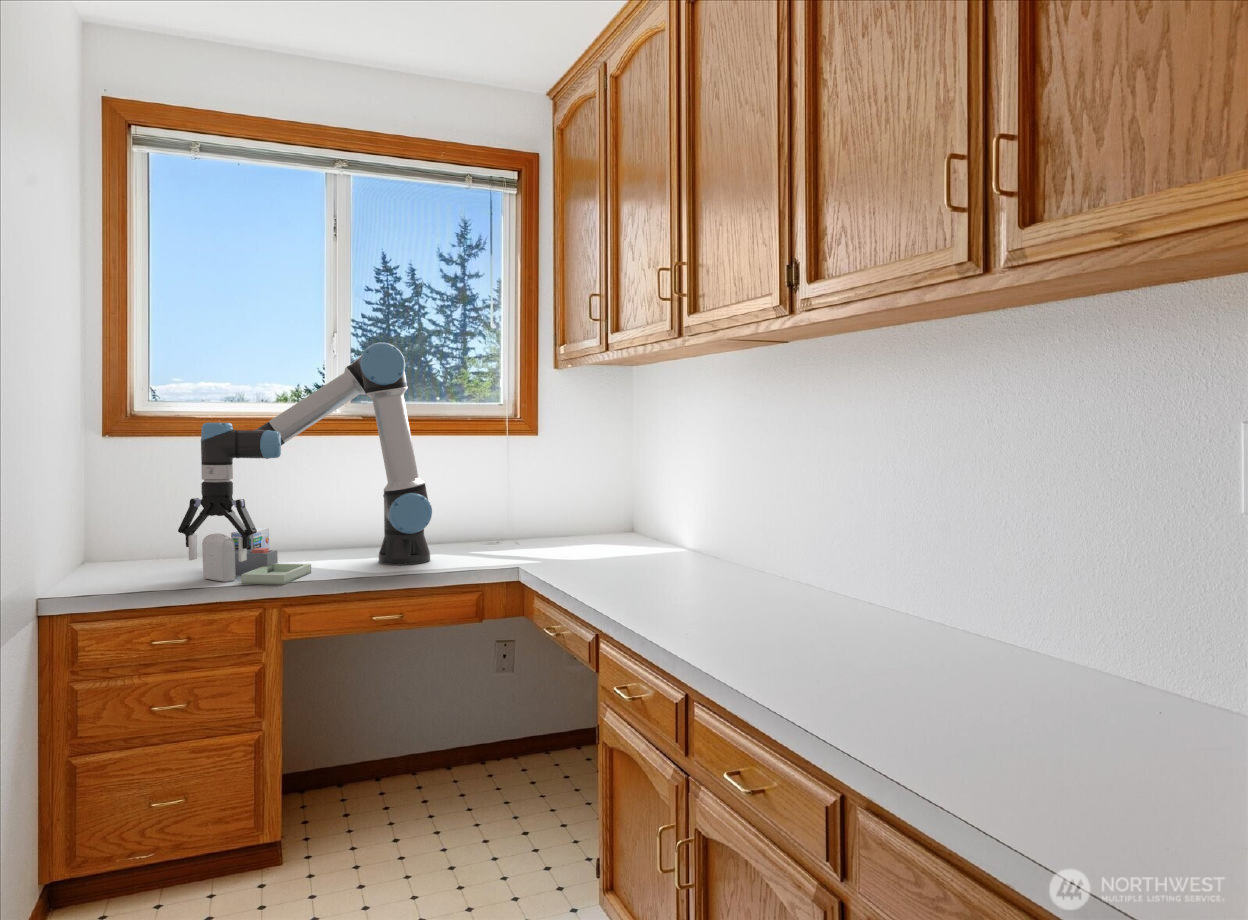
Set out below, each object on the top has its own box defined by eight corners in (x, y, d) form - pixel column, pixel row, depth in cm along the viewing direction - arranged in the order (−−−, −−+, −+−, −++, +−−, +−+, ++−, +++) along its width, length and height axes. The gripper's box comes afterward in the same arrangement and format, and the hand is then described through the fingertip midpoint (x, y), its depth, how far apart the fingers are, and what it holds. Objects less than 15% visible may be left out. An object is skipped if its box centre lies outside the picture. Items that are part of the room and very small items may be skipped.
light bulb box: (254, 570, 237) (253, 532, 237) (230, 570, 237) (229, 532, 237) (270, 563, 248) (270, 527, 247) (248, 563, 248) (247, 527, 247)
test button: (269, 565, 234) (268, 547, 234) (263, 567, 231) (263, 549, 231) (257, 565, 234) (256, 547, 234) (251, 567, 231) (251, 549, 231)
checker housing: (277, 571, 236) (277, 550, 235) (267, 575, 230) (267, 553, 229) (229, 570, 236) (228, 549, 236) (217, 574, 230) (217, 552, 230)
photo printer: (200, 578, 225) (199, 533, 224) (215, 576, 228) (214, 531, 227) (222, 583, 219) (221, 536, 218) (238, 580, 223) (237, 534, 222)
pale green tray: (311, 572, 234) (311, 563, 234) (284, 584, 217) (284, 574, 217) (271, 572, 234) (271, 563, 234) (241, 583, 218) (241, 574, 218)
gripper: (163, 480, 219) (163, 561, 220) (256, 482, 218) (256, 563, 219) (179, 478, 227) (180, 556, 228) (269, 480, 225) (270, 558, 226)
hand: (217, 560), depth 223 cm, fingers open, 13 cm apart
